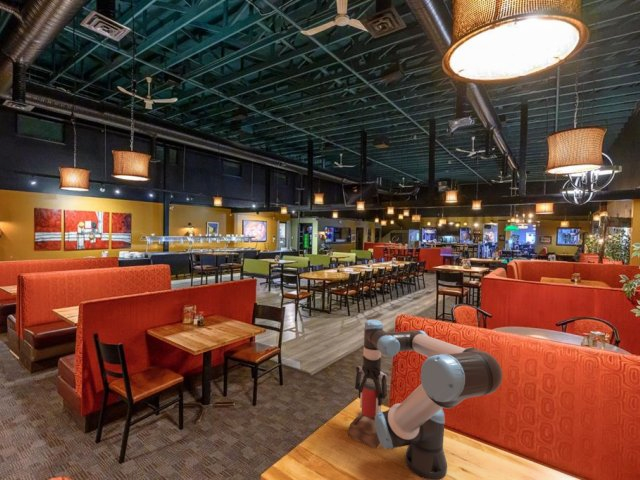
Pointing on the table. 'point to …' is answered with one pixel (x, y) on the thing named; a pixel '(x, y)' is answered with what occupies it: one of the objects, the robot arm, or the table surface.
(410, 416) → the robot arm
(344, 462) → the table surface
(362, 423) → the walnut tray
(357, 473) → the table surface
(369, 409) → the beer can
